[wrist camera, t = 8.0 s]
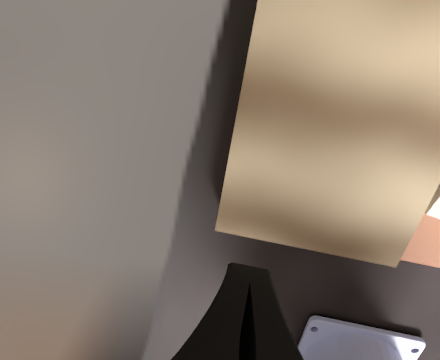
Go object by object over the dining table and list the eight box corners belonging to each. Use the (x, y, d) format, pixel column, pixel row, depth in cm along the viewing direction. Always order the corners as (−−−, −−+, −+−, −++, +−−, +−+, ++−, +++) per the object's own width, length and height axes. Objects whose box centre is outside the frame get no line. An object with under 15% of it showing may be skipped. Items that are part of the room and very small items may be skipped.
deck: (383, 239, 22) (396, 267, 20) (220, 206, 22) (214, 230, 20) (508, -26, 15) (549, -28, 13) (271, -67, 15) (272, -76, 13)
